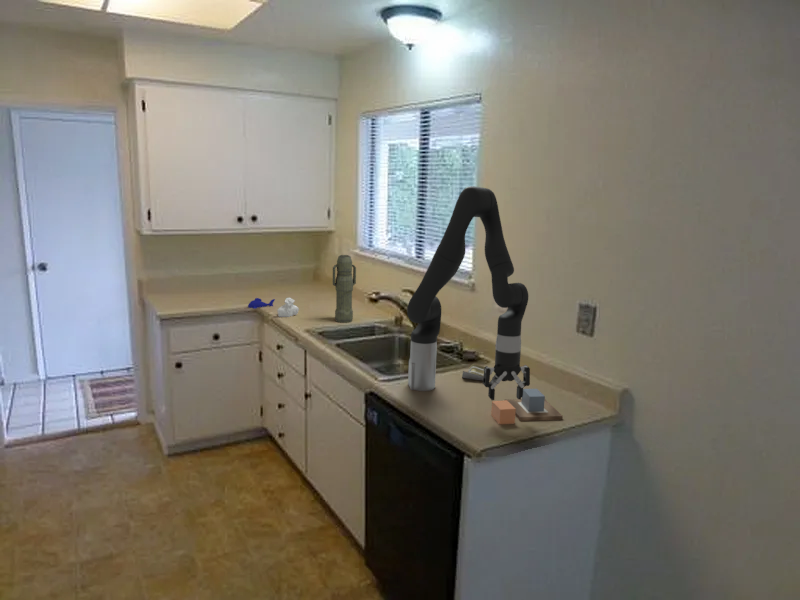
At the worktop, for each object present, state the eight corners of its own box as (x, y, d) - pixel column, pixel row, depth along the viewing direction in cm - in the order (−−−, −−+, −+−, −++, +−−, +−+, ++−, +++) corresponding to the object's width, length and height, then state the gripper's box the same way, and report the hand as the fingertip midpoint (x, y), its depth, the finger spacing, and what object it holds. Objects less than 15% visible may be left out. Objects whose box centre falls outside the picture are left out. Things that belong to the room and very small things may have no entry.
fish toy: (249, 312, 314) (249, 299, 313) (246, 309, 321) (246, 297, 320) (276, 310, 321) (276, 298, 319) (273, 307, 327) (273, 295, 326)
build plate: (519, 420, 179) (520, 416, 178) (504, 402, 193) (504, 399, 193) (562, 419, 181) (562, 415, 180) (543, 401, 195) (544, 398, 195)
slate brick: (528, 411, 183) (529, 396, 182) (521, 403, 190) (522, 388, 189) (543, 411, 184) (544, 396, 183) (535, 403, 190) (537, 388, 189)
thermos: (358, 324, 294) (359, 256, 287) (336, 326, 288) (337, 257, 281) (350, 320, 302) (351, 254, 295) (329, 322, 296) (330, 254, 289)
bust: (295, 315, 310) (295, 294, 308) (301, 318, 304) (301, 297, 302) (274, 317, 303) (274, 296, 301) (280, 320, 297) (279, 299, 295)
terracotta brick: (499, 425, 175) (500, 409, 174) (491, 416, 182) (492, 401, 181) (514, 424, 176) (515, 408, 175) (505, 415, 183) (507, 400, 182)
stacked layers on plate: (486, 390, 218) (489, 378, 221) (489, 378, 211) (492, 365, 214) (460, 383, 219) (464, 371, 223) (463, 371, 212) (466, 359, 216)
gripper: (489, 352, 170) (486, 404, 173) (535, 351, 172) (531, 402, 175) (481, 345, 177) (479, 395, 180) (526, 344, 180) (523, 394, 183)
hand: (505, 399), depth 178 cm, fingers open, 8 cm apart
